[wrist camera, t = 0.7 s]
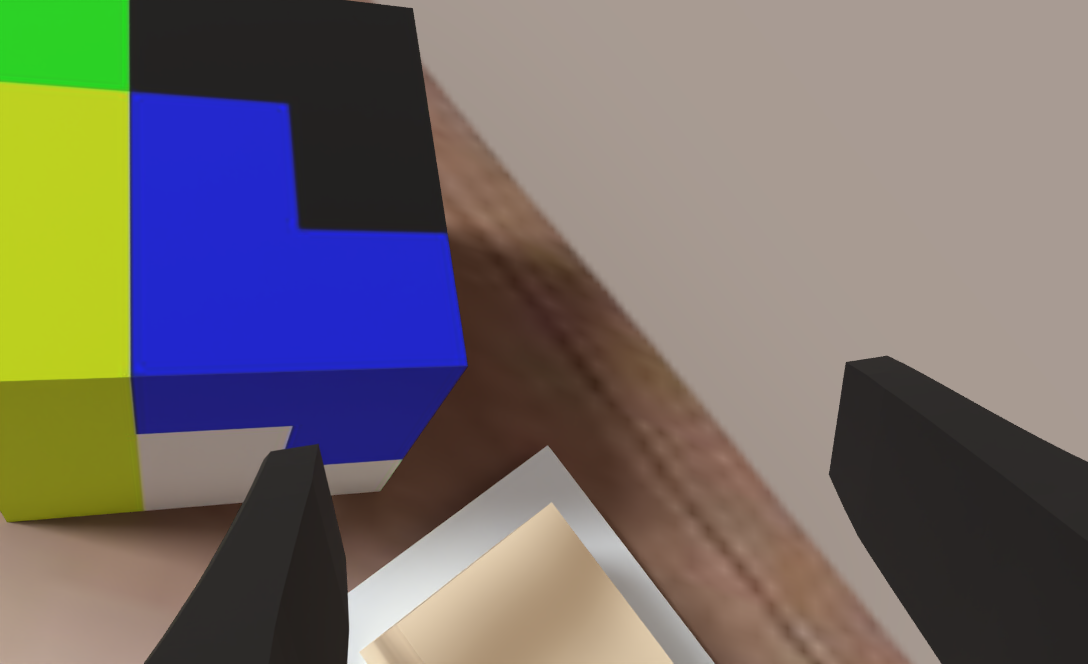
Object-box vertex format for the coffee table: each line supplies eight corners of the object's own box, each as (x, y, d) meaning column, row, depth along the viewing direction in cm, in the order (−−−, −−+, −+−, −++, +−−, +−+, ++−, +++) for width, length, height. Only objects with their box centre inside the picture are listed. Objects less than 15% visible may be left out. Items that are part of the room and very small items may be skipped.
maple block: (596, 683, 27) (674, 663, 23) (467, 807, 25) (529, 810, 20) (494, 545, 28) (551, 502, 24) (358, 652, 25) (396, 624, 21)
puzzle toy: (379, 491, 28) (468, 366, 20) (7, 522, 25) (-78, 383, 16) (349, 212, 32) (412, 8, 24) (23, 201, 28) (-40, -46, 20)
